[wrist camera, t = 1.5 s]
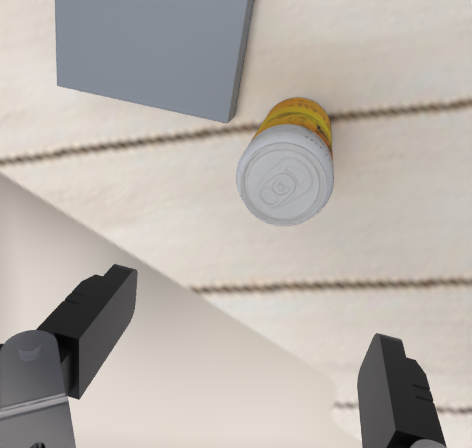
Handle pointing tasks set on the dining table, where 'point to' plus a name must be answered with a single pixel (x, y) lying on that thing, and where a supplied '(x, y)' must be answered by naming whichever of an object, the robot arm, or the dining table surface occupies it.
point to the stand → (155, 52)
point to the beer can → (288, 164)
